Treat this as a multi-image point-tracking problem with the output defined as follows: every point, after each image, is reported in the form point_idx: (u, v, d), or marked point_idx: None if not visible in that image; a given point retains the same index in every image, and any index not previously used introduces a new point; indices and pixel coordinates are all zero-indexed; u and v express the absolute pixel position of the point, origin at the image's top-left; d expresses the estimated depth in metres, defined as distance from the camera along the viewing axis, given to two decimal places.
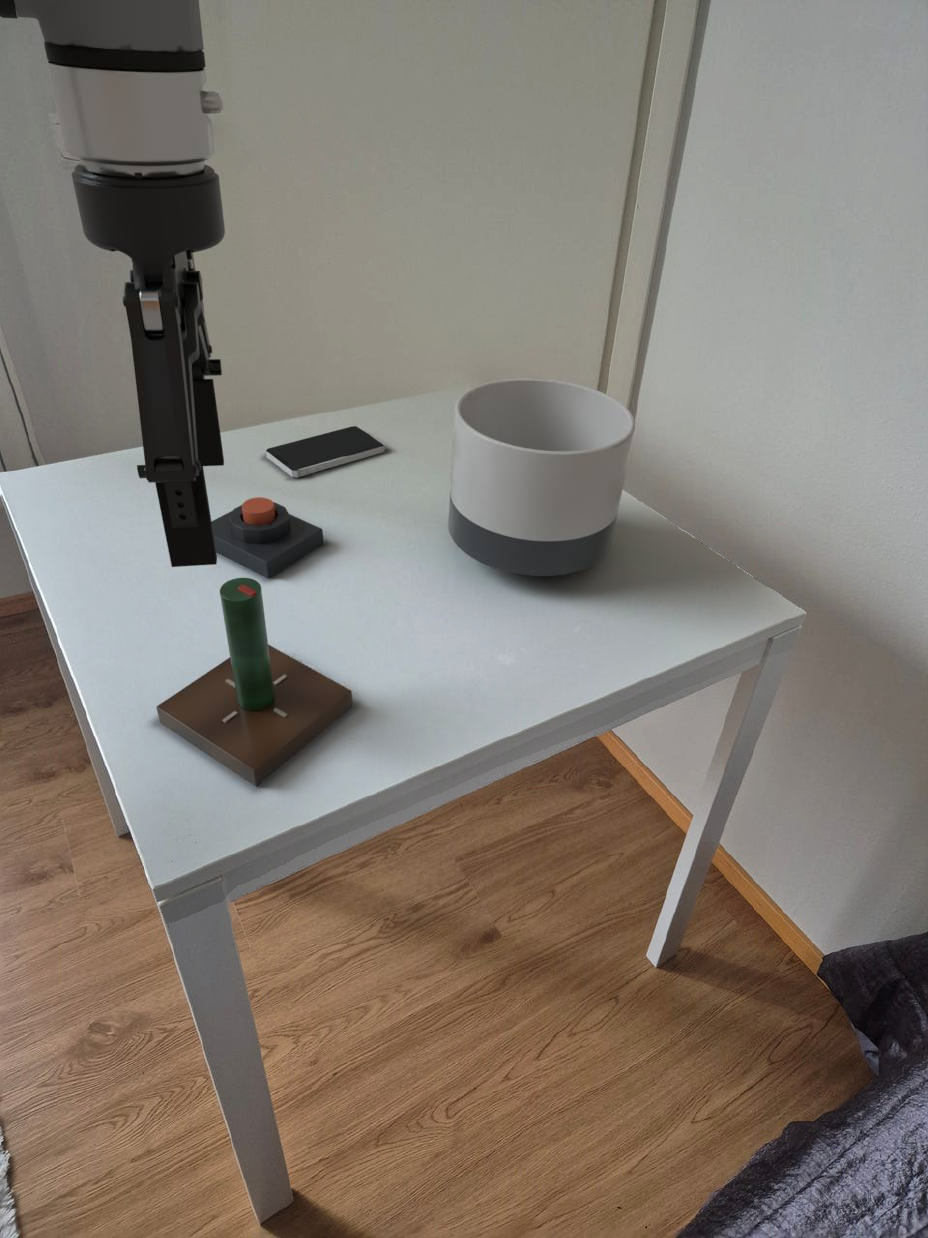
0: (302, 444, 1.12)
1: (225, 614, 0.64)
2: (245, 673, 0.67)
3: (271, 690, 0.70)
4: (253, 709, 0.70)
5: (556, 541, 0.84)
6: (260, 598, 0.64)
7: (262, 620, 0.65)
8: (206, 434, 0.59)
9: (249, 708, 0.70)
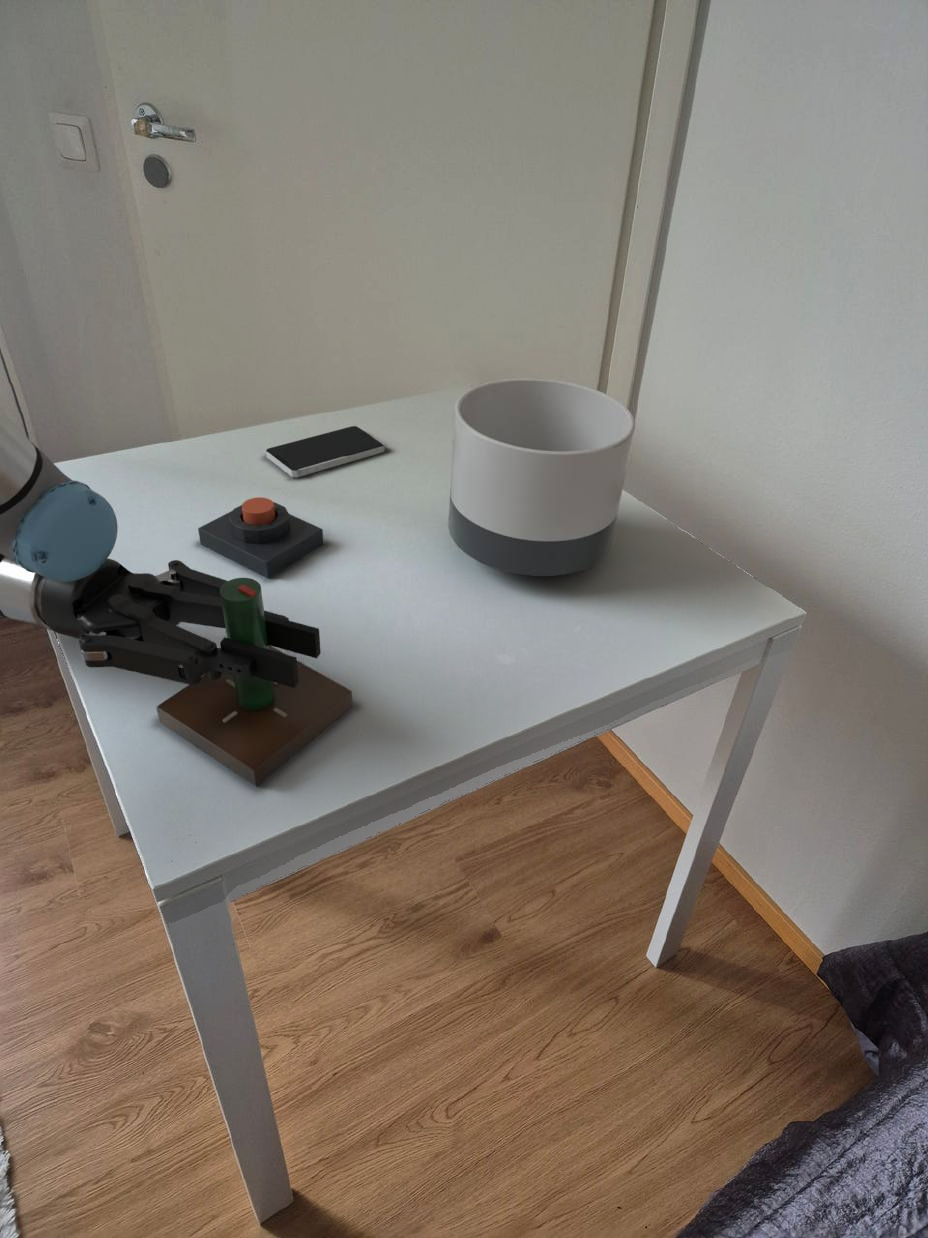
0: (302, 444, 1.12)
1: (225, 614, 0.64)
2: None
3: (271, 690, 0.70)
4: (253, 709, 0.70)
5: (556, 541, 0.84)
6: (260, 598, 0.64)
7: (262, 620, 0.65)
8: None
9: (249, 708, 0.70)
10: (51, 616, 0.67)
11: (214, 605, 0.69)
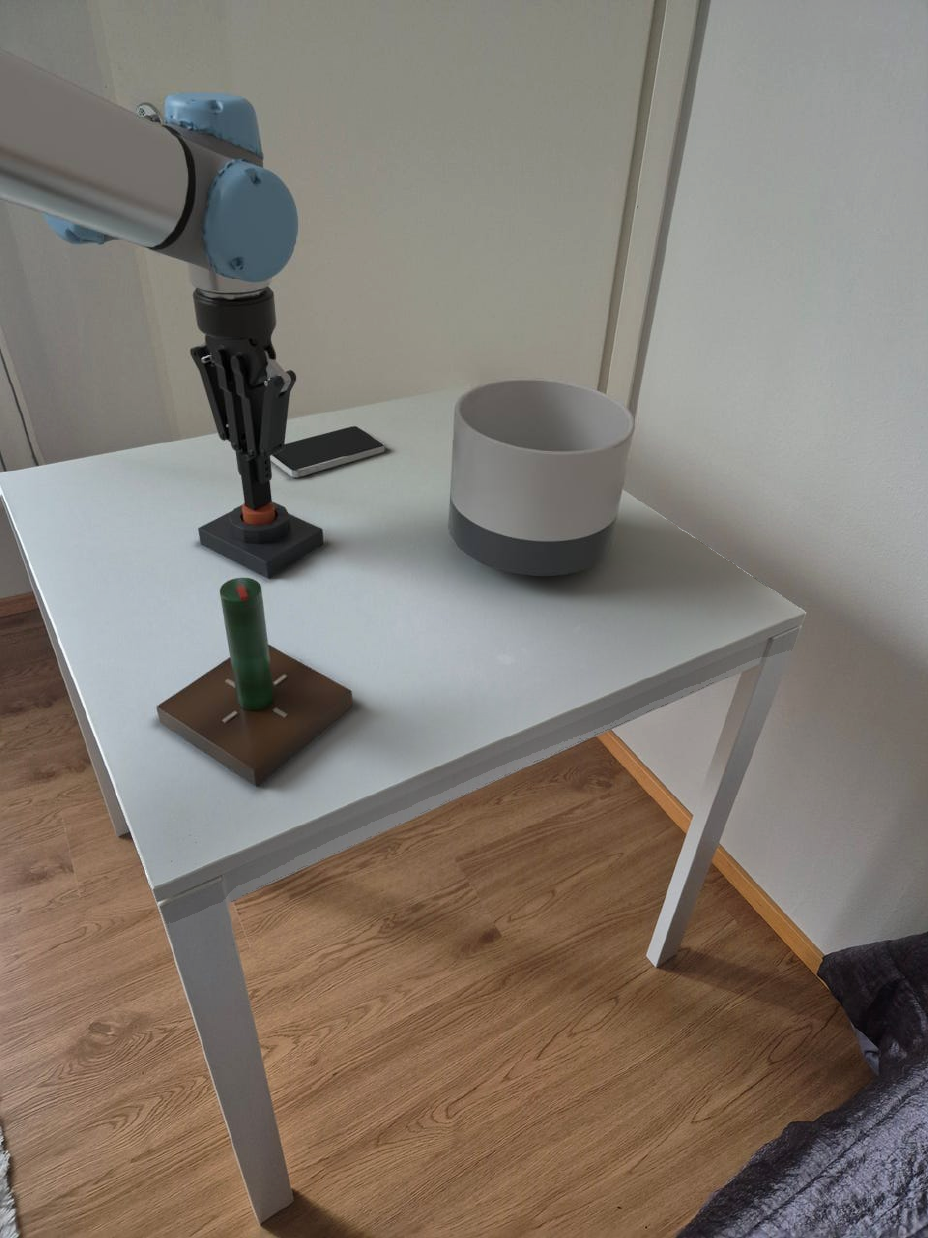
0: (302, 444, 1.12)
1: (222, 608, 0.64)
2: (236, 670, 0.67)
3: (265, 696, 0.69)
4: (244, 707, 0.70)
5: (556, 541, 0.84)
6: (254, 604, 0.63)
7: (255, 625, 0.64)
8: None
9: (241, 705, 0.70)
10: None
11: (245, 427, 0.83)
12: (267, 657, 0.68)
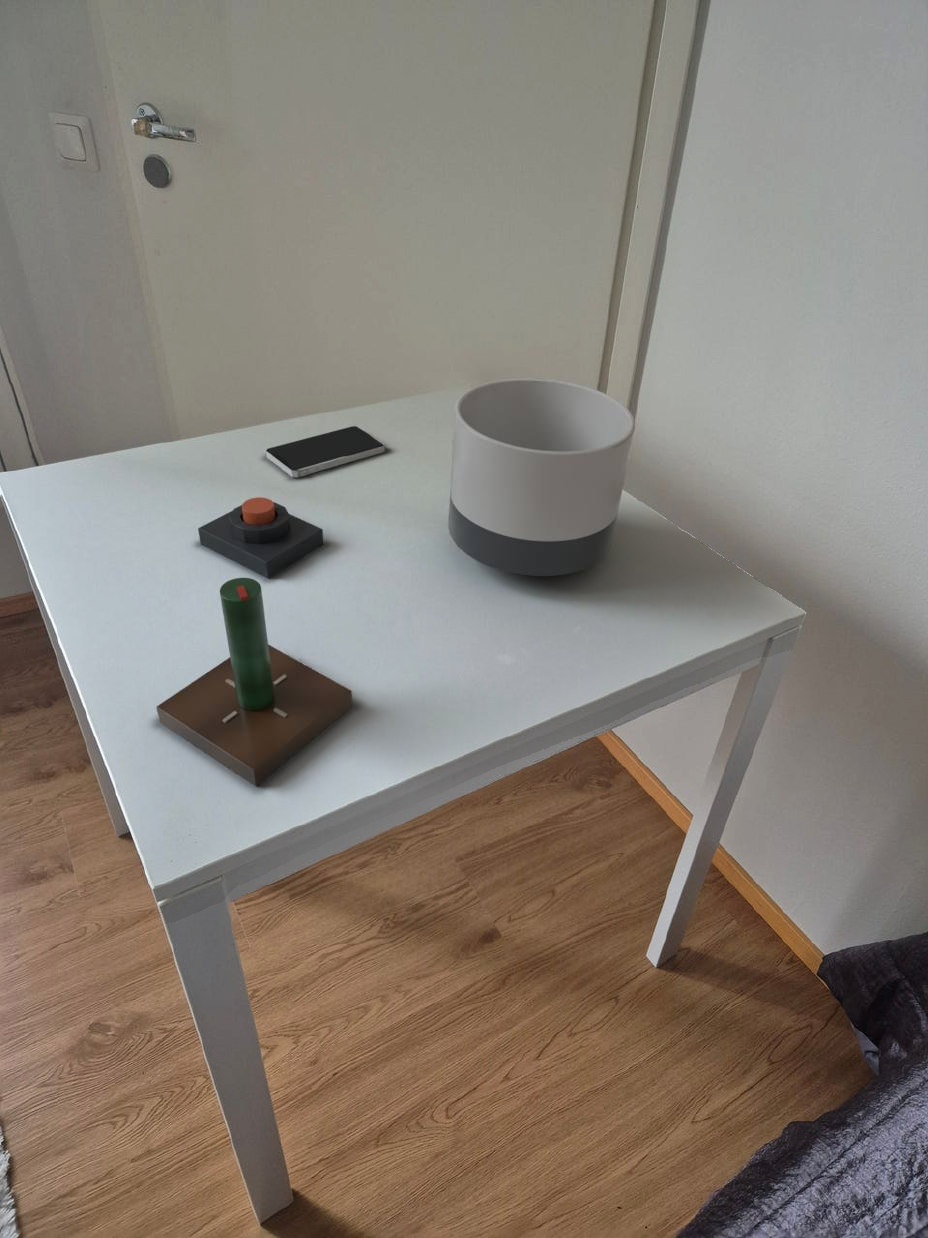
0: (302, 444, 1.12)
1: (222, 608, 0.64)
2: (236, 670, 0.67)
3: (265, 696, 0.69)
4: (244, 707, 0.70)
5: (556, 541, 0.84)
6: (254, 604, 0.63)
7: (255, 625, 0.64)
8: None
9: (241, 705, 0.70)
10: None
11: None
12: (267, 657, 0.68)
